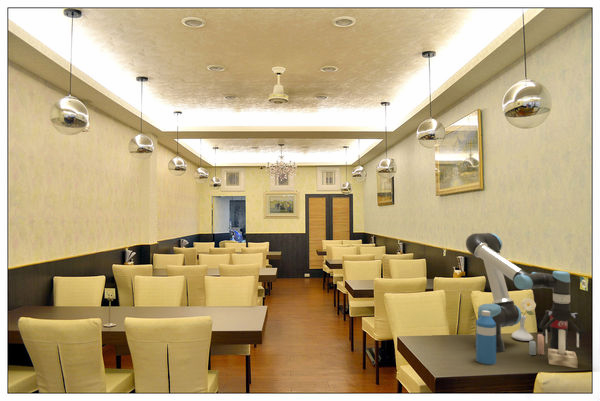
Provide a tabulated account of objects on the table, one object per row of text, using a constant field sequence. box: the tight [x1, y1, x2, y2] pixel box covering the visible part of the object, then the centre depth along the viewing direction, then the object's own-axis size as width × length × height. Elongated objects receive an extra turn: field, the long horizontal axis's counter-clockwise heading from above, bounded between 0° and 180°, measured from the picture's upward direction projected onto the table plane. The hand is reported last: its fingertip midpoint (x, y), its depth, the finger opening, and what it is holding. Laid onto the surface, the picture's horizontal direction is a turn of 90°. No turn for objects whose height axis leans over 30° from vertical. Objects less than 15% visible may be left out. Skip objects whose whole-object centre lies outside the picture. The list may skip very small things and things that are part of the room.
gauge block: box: [547, 347, 578, 369], centre depth 218 cm, size 12×12×4 cm
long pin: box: [559, 329, 567, 355], centre depth 218 cm, size 3×3×16 cm
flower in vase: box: [511, 297, 537, 342], centre depth 258 cm, size 13×11×25 cm
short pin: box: [528, 340, 537, 356], centre depth 230 cm, size 3×3×7 cm
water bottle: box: [475, 310, 497, 365], centre depth 219 cm, size 9×9×25 cm
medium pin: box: [537, 333, 545, 356], centre depth 232 cm, size 3×3×10 cm
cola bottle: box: [549, 305, 569, 351], centre depth 238 cm, size 8×8×30 cm
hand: (561, 344), depth 219 cm, fingers open, 13 cm apart
